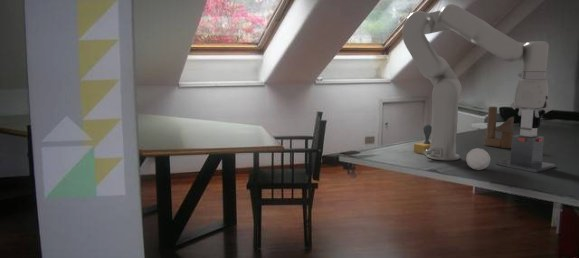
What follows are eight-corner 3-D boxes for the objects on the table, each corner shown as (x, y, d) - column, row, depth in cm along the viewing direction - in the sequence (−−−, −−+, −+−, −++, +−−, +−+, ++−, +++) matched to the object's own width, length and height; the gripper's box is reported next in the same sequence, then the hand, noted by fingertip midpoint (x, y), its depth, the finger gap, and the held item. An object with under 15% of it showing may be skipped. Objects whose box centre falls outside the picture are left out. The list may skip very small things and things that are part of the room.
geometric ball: (477, 175, 152) (486, 156, 153) (488, 173, 144) (498, 153, 146) (458, 164, 153) (468, 146, 154) (468, 161, 145) (478, 142, 146)
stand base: (535, 172, 145) (538, 141, 143) (496, 164, 157) (499, 135, 155) (555, 166, 153) (558, 137, 151) (516, 159, 164) (519, 132, 163)
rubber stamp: (424, 154, 175) (425, 126, 173) (413, 152, 180) (414, 124, 178) (439, 151, 180) (441, 124, 178) (428, 149, 185) (429, 122, 183)
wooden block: (508, 148, 185) (512, 108, 183) (484, 145, 193) (486, 106, 190) (511, 147, 188) (515, 107, 185) (487, 144, 196) (490, 106, 193)
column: (528, 159, 151) (532, 110, 148) (517, 157, 154) (521, 109, 152) (535, 157, 154) (539, 109, 151) (524, 156, 157) (528, 108, 154)
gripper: (504, 76, 154) (501, 125, 157) (553, 77, 141) (548, 131, 143) (515, 75, 158) (511, 123, 161) (564, 77, 145) (558, 129, 148)
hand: (529, 126), depth 152 cm, fingers closed on column, 4 cm apart
